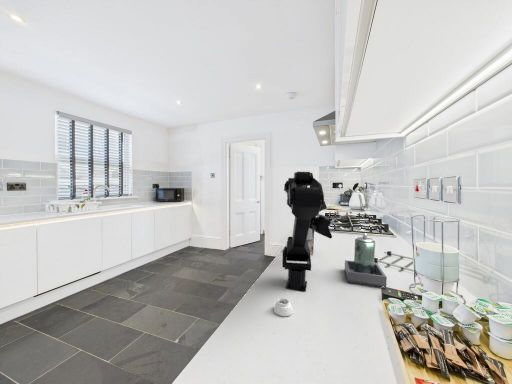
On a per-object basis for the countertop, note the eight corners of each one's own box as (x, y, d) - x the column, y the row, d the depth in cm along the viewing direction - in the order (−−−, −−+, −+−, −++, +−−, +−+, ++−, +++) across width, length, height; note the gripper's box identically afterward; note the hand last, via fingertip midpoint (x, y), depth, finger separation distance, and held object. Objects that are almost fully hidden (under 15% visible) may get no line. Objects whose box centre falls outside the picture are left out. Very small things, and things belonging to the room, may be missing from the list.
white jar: (273, 305, 59) (274, 317, 54) (274, 295, 59) (274, 306, 54) (291, 306, 59) (293, 318, 54) (291, 296, 59) (294, 307, 54)
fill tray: (386, 289, 69) (386, 277, 69) (347, 283, 73) (348, 271, 73) (377, 274, 80) (377, 264, 80) (344, 270, 84) (344, 260, 84)
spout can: (371, 281, 72) (373, 237, 71) (351, 276, 76) (353, 233, 75) (375, 275, 77) (377, 233, 76) (356, 270, 81) (358, 230, 80)
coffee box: (313, 255, 100) (314, 221, 99) (300, 255, 100) (301, 221, 99) (309, 249, 109) (310, 218, 108) (296, 248, 109) (297, 218, 109)
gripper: (327, 195, 73) (353, 225, 76) (304, 191, 91) (325, 215, 95) (305, 217, 72) (332, 247, 75) (286, 209, 90) (309, 233, 93)
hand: (324, 234), depth 85 cm, fingers open, 9 cm apart
